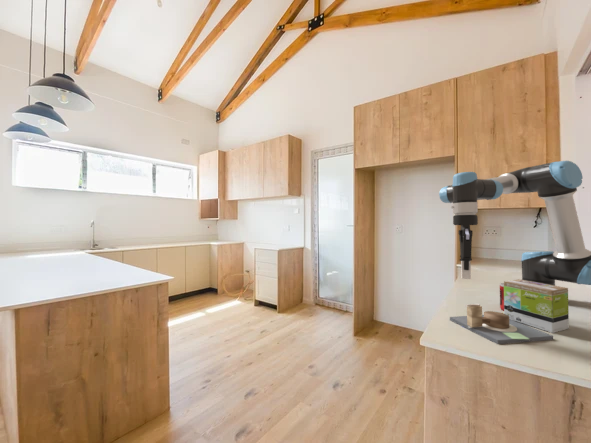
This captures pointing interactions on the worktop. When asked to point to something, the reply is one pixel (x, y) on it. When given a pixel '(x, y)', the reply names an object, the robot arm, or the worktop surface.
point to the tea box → (537, 304)
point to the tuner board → (505, 332)
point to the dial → (486, 317)
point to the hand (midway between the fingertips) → (466, 278)
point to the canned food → (502, 296)
